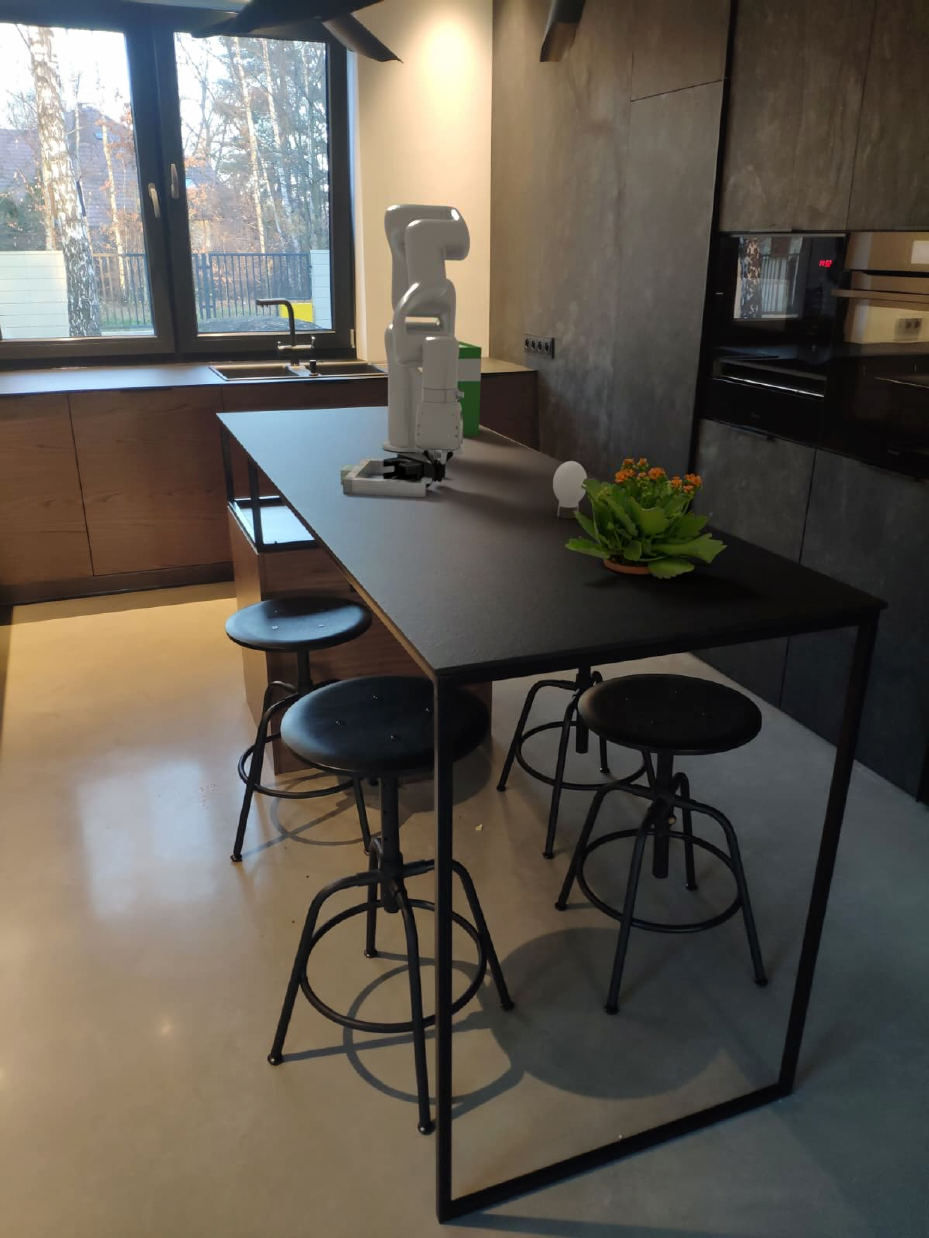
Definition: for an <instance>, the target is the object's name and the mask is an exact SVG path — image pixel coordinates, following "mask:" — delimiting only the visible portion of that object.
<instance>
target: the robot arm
mask: <svg viewBox="0 0 929 1238" xmlns="http://www.w3.org/2000/svg"><path fill="white" fill-rule="evenodd" d="M383 220H384V221H383V225H384V231H385V237H386V240H387V242H388V246H389V249H390V253H391V260H392V262H391V264H392V265H391V294H390V295H391V307H392V310H393V315H392V320H391V324H389V325H388V326H387V327H386V329H385V331H384V335H383V336H384V337H383V338H384V339H383V340H384V348H385V355H386V362H387V365H386V366H387V410H388V411H387V418H388V419H387V421H388V422H387V428H388V429H387V435H388V436H387V440H385V441H383V442H382V443H381V447H382V449H383V450H387V451H391V452H396V453H397V452H398V453H400V452H401V453H415V454H418V455H422V456H424V457H425V458H426V459H427V461H430V463H431V464H432V466H433V468H434V471H435V477H434V480H433V482H434V483H435V482H438V483H442V481H443V478H446V463H447V462H448V461H449V460H450V459H451V458H453V457H458V456H459V457H460V456H463V453H464V450H463V449H464V448H463V441H464V436H463V419H462V408H461V403H460V402H457V400H458V399H460V398H464V392H461V391H459V390H458V388H457V381H458V357H459V342H458V341H459V340H457V338H456V336H455V329H456V328H455V327H456V313H457V312H456V311H457V292H456V288H455V285H454V282H453V281H452V280H451V279H449V278H447V273H446V272H447V271H446V261H454V262H455V261H456V262H457V261H458V262H459V261H464V260H465V259H466V258H468V256H469V254H470V250H471V249H470V248H471V247H470V246H471V239H470V238H471V237H470V230H469V228H468V225H467V222H466V220H465V219H464V217H463V216H462V214H461V212H460V210H458V208H456V207H454V206H450V205H449V206H448V205H435V204H434V205H433V204H431V205H430V204H428V205H427V204H416V203H415V204H413V203H411V204H409V203H402V204H394V205H391V206H389V207H388V208H387V209H386V210H385V213H384V219H383ZM406 318H426V319H427V318H429V319H430V318H431V319H432V318H433V319H435V320H436V321H435V322H434V321H432V322H431V321H406ZM420 368H422V369H421V370H422V371H421V370H420ZM436 451H441V456H440V458H441V459H440V461H439V462H438V459H437V458H438V457H437V452H436Z"/></svg>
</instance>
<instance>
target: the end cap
mask: <svg viewBox="0 0 929 1238" xmlns="http://www.w3.org/2000/svg"><path fill="white" fill-rule="evenodd" d="M383 459H384V460H383V467H388V466H394V470H393V471H391V472H384V473H383V474H382V476H383V477H382V479H392V480H411V481H421V479H422V477H426V478H432V482H431V484H427V483H426V490H427V489H428V488H429V487H430V486H432V484H433V482H434V477H435V471H434V468H433V466H432V464H430V463H429V462H427V461H428V460H423V459H420V458H417V457H413V456H411V455H410V456H409V455H406V454H403V453H397V454H396V457H388V458H383Z"/></svg>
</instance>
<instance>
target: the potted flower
mask: <svg viewBox="0 0 929 1238" xmlns="http://www.w3.org/2000/svg"><path fill="white" fill-rule="evenodd" d="M647 460H648V459H647V458H640V459H639V462H638V463H636V465H635V463H634V458H632V459H631V458H627V459H624V460H623V463H622V466H621V467H620V468H621V469H620V471H618V472H616V474H615V476H614V477H615V479H614V481H615V482H616V483H617V484H616V483H613V484H611V483H609V482H607V481H604V482H601V483H600V481H599V480H598V479H596V478H595V477H594V478H589V477H587V478H586V479H584V481H583V484H584V485H586V486H583V485H581V487H582V488H583V489H584V490H585V491H586V492H587V494H588V495H587V498H588V500H589V502H590V503H591V505H592V506H591V507H592V514H593V521H592V520H591V519H588V517H587V516H586V515H583V514H582V513H581V512H580V511H578V512H577V511H574V514H575V515H576V518H575V519H576V520H578V523H579V524H580V526H581V527H582V528H583V530H585V531H586V533H587V534H589V535H590V536H591V537H592V538H593V539H594V540H596V542H593V541H591V540H589V539H588V538H583V537H582V536H581V535H580V536H578V539H579V540H578V539H576V538H570V539H568V542H569V543H565V545H564V546H565V548H567V549H568V550H571V551H575V552H579V553H583V554H585V555H588V556H589V555H590V556H593V557H597V558H600V559H602V560H603V564H604V565H605V567H606V568H608V569H610V570H612V571H615V572H619V573H623V574H630V575H649V574H651V575H652V576H653V577H654V578H656V577H657V579H660V580H661V579H671V578H672V577H674V578H676V577H677V575H681V574H683V573H687V572H692V571H693V570H695V565H694V564H693V563H690V561H687V560H686V559H684V558H688V559H691V558H692V557H696V558H698V559H700V560H703V561H705V562H706V563H707V564H711V562H713V559H714V558H715V557H716V556H717V555H718V554H720V552H722V551H723V550H724V549H726V547H727V546H728V545H726V544H723V541H722V540H716V539H710V538H712V537H713V534H712V533H711V532H709V533H705V534H704V535H701V534H700V531H701V530H702V529H703V528H704V527H705V526H706V523H707V522H708V521H709V517H707V516H703V514H699V515H696V517H695V514H694V513H692V511H693V509H691V510H690V511H688V513H686V512H687V509H688V507H689V504H690V501H691V500H693V499H694V495H695V493H696V491H698V490H701V491H702V490H703V484H702V483H703V480H702V479H701V476H700V475H697V476H695V474H694V473H691V474H690V475H689V474H685V475H684V477H683V478H684V482H683V480H682V479H680V476H673V477H672V480H669V478H668V476H667V474H666V472H665V470H664V469H665V468H663V467H662V468H661V467H654V468H651V469H650V470H649V471H648V472H647V473H648V474H647V473H646V472H645V471H646V470H647V469H648V468H649V463H648V462H647ZM634 470H639V471H640V472H639V473H638V474H637V472H636V471H634ZM635 475H637V477H635ZM646 475H647V476H646ZM683 483H684V484H685V485H686V486H685V485H683ZM618 485H620V486H618ZM682 485H683V486H682ZM621 487H622V489H621ZM682 490H683V493H681V492H682ZM684 506H685V507H684ZM683 508H684V509H683ZM682 510H683V511H682ZM685 513H686V515H685ZM699 535H700V536H699ZM697 536H698V537H697ZM695 537H697V538H695ZM691 556H692V557H691Z"/></svg>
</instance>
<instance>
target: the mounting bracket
mask: <svg viewBox="0 0 929 1238" xmlns="http://www.w3.org/2000/svg"><path fill="white" fill-rule="evenodd" d="M384 459H385V458H370V457H369V458H367V457H365V458H362V459H361V460H360V461H359V462H357V464H356V465H350V464H349V465H348V464H347V465H344V466H343V467H342V468H341V469H340V484H341V485H342V493H343V494H351V495H353V494H355V495H372V496H374V495H375V496H391V497H409V498H410V497H413V498H425V497H426V496H427V489H426V483H427V484H431V482H432V478H426V477H422V479H421V481H411V480H392V479H383V478H370V477H369V476H370V474H379V475H380V474H381V475H383V473H384V472H391V471H393V470H394V466H388V467H383V460H384ZM437 459H438V462H439V461H440V459H441V457H440V458H438V457H437ZM426 461H427V462H429V463H430V461H429V460H426ZM430 464H431V463H430ZM368 477H369V478H368ZM432 483H433V482H432ZM431 485H432V484H431Z"/></svg>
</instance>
